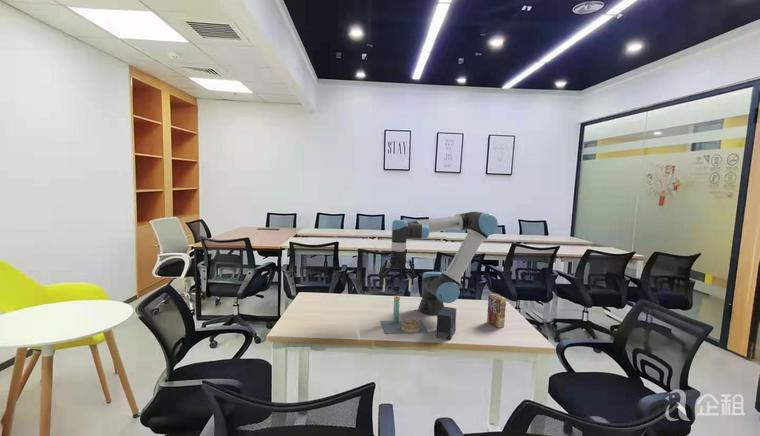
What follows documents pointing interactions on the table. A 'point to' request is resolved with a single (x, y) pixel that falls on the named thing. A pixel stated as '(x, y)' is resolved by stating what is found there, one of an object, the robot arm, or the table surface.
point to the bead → (410, 325)
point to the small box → (446, 323)
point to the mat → (396, 328)
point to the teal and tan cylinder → (396, 309)
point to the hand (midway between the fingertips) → (396, 291)
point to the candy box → (496, 310)
